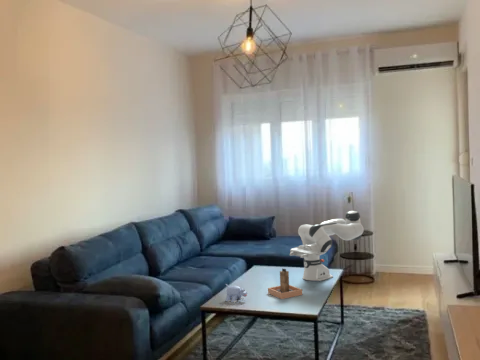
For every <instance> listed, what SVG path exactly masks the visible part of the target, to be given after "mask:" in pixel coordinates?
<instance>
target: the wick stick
mask: <svg viewBox="0 0 480 360" xmlns="http://www.w3.org/2000/svg"><path fill="white" fill-rule="evenodd" d="M289 285H290V272H289V270H287V269H286V268H282V270H280V271H279V286H280V291H282V292H287V291H289Z"/></svg>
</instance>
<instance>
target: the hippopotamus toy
mask: <svg viewBox="0 0 480 360" xmlns="http://www.w3.org/2000/svg"><path fill="white" fill-rule="evenodd" d="M224 285H226V292H225V293H226V298H225V301H226V302H231V303H236V302H238V300H243V298H244V297H247V296H248V291H246V290H245V288H244V287H243V288H241V287H240V286H238V285H228V284H227V283H225V284H224ZM237 299H238V300H237Z"/></svg>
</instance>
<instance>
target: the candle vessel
mask: <svg viewBox="0 0 480 360" xmlns="http://www.w3.org/2000/svg"><path fill="white" fill-rule="evenodd" d="M267 294H268V295H270V296H274V297H276V298H278V299H281V300H284V299H289V298H293V297H298V296H303V289H302V288H300V287H296V286H294V285H291V284H289V291H287V292H282V291H280V285H277V286H271V287H268V288H267Z"/></svg>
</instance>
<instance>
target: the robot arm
mask: <svg viewBox="0 0 480 360" xmlns="http://www.w3.org/2000/svg"><path fill="white" fill-rule="evenodd" d="M361 221H362V220H361V215H360V212H359V211H356V210H349V211H347V212H345V219H344V218H333V219H330V220H325V221H322V222H320V224H314V225H313V224H306V223H304V224H301V225H300V226H299V227H298V228H297V229H298V230H297V234H298V236H300V240H301V243H302V244H301V245H298V246H296V247H293V248H290V250H289V252H290V253H289V256H290V257H291V256H292V257H293V256H295V257H300V259H301V258H302V259H303V267H304V268H303V275H302V279H303V280H306V281H318V282H319V281H320V282H321V281H324V280H328V279H331V278H334V276H333V274H331V273H330V270H329V269H330V268H328V267H327V266H325V265H324V264H323V263H324V262H325V259H323V258H320V256H322V255H325V254H326V253H327V252H328V251H329V250H330V249H331V248H332V246H333V240H332V237H330V236H334V235H335V236H338V238H340V239H341V240H344V241H357V240H360V239H361V238H362V234H363V233H364V231H365V229H364V226H363V224H362V223H361Z"/></svg>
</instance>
